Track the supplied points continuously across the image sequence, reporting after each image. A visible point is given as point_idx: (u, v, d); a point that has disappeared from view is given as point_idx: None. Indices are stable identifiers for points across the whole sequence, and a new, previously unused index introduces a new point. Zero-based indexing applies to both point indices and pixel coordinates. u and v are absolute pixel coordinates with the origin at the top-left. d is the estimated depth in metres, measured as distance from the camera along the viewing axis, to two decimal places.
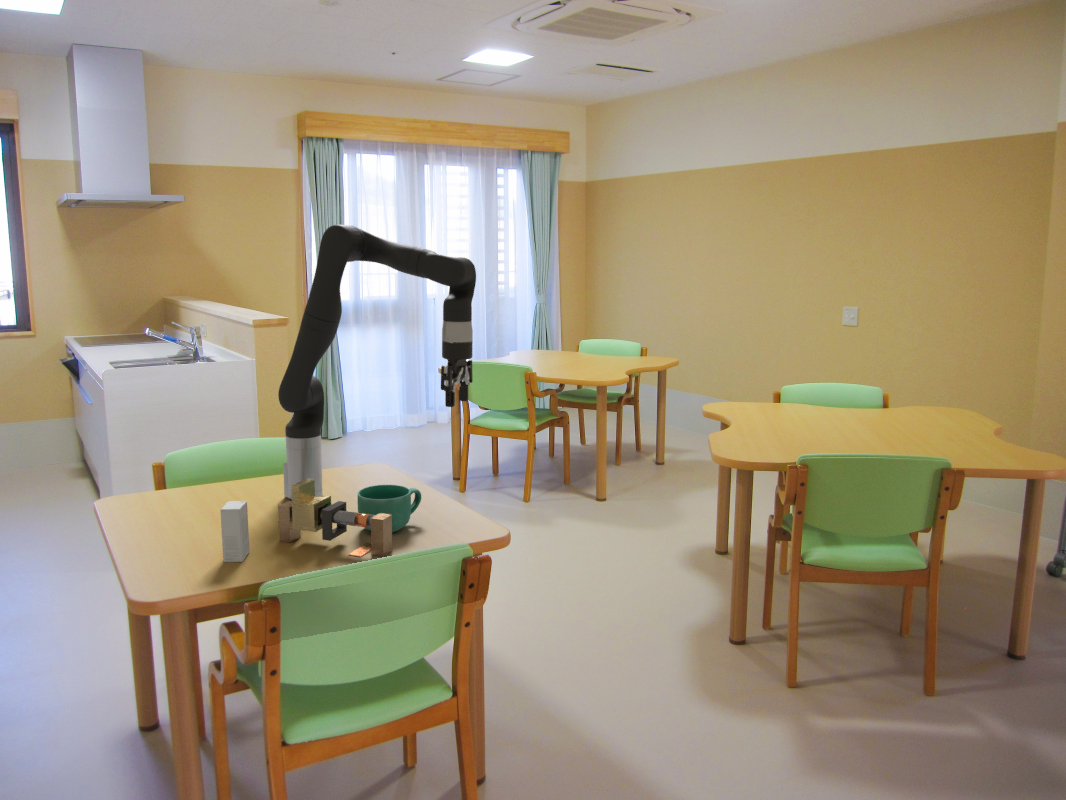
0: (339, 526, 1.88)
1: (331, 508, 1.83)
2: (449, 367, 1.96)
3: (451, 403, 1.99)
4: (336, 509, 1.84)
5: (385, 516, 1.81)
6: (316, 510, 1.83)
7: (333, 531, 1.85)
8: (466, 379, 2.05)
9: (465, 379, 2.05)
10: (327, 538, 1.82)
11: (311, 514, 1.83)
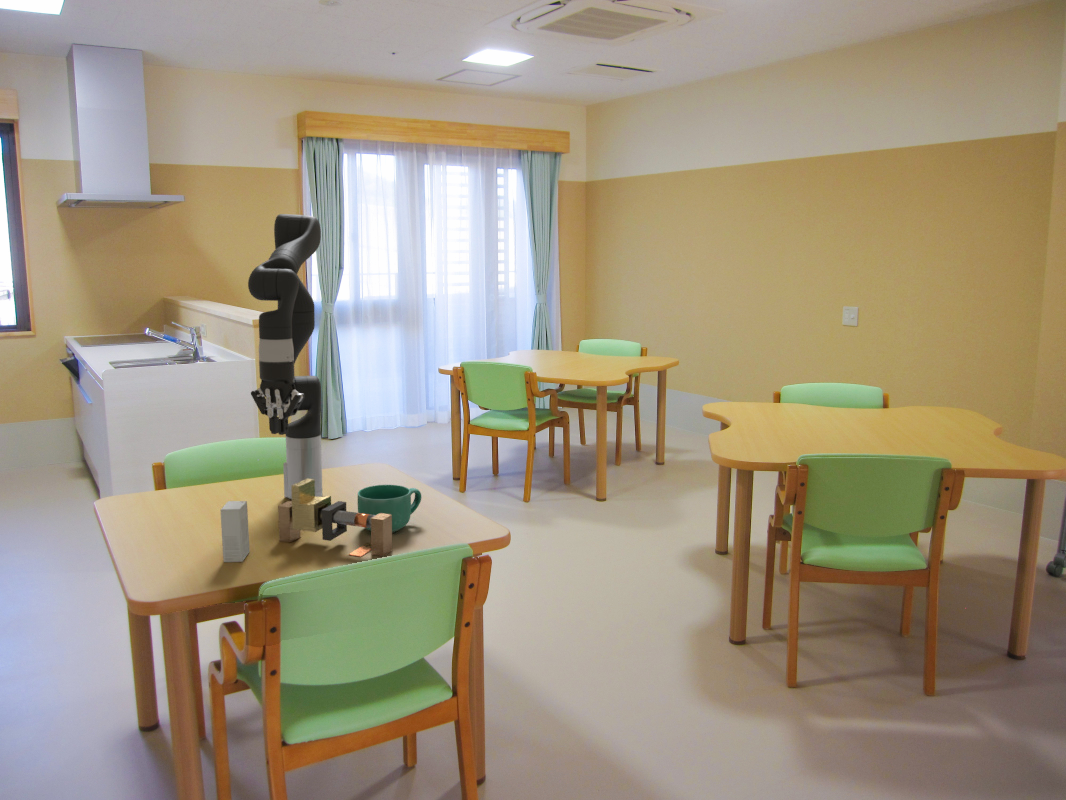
0: (339, 526, 1.88)
1: (331, 508, 1.83)
2: (304, 396, 1.83)
3: None
4: (336, 509, 1.84)
5: (385, 516, 1.81)
6: (316, 510, 1.83)
7: (333, 531, 1.85)
8: None
9: None
10: (327, 538, 1.82)
11: (311, 514, 1.83)
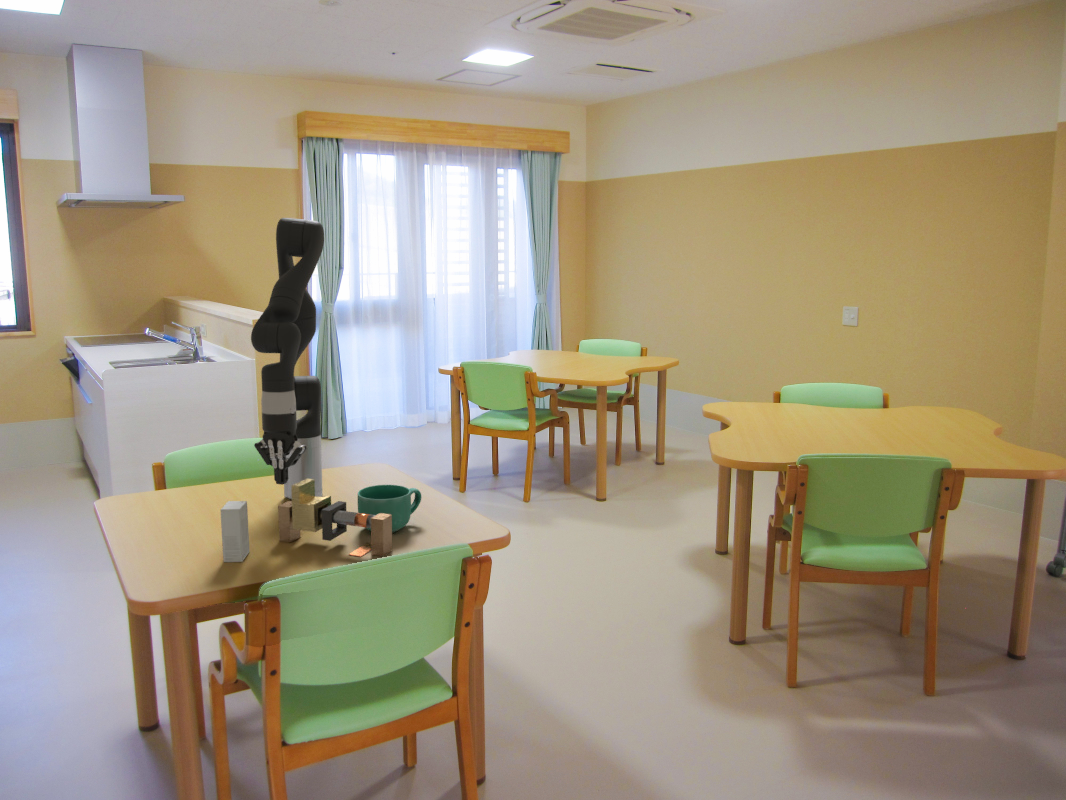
0: (339, 526, 1.88)
1: (331, 508, 1.83)
2: (305, 448, 1.86)
3: None
4: (336, 509, 1.84)
5: (385, 516, 1.81)
6: (316, 510, 1.83)
7: (333, 531, 1.85)
8: None
9: None
10: (327, 538, 1.82)
11: (311, 514, 1.83)
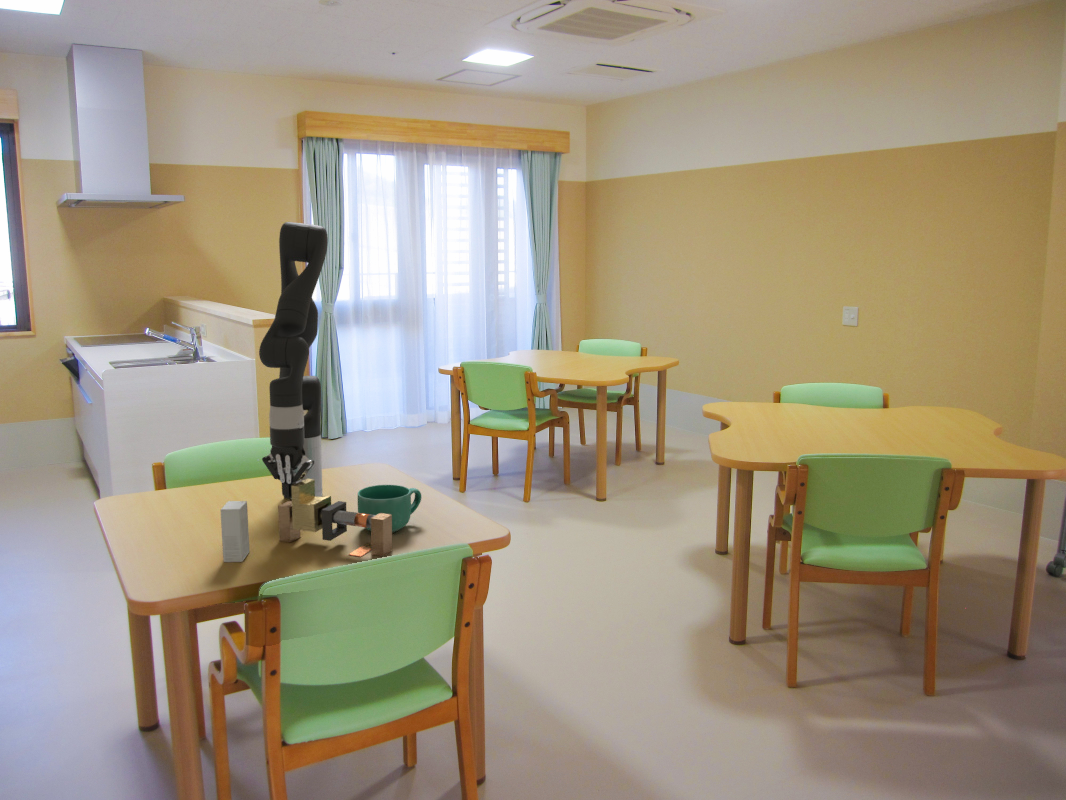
0: (339, 526, 1.88)
1: (331, 508, 1.83)
2: (313, 463, 1.85)
3: None
4: (336, 509, 1.84)
5: (385, 516, 1.81)
6: (316, 510, 1.83)
7: (333, 531, 1.85)
8: None
9: None
10: (327, 538, 1.82)
11: (311, 514, 1.83)
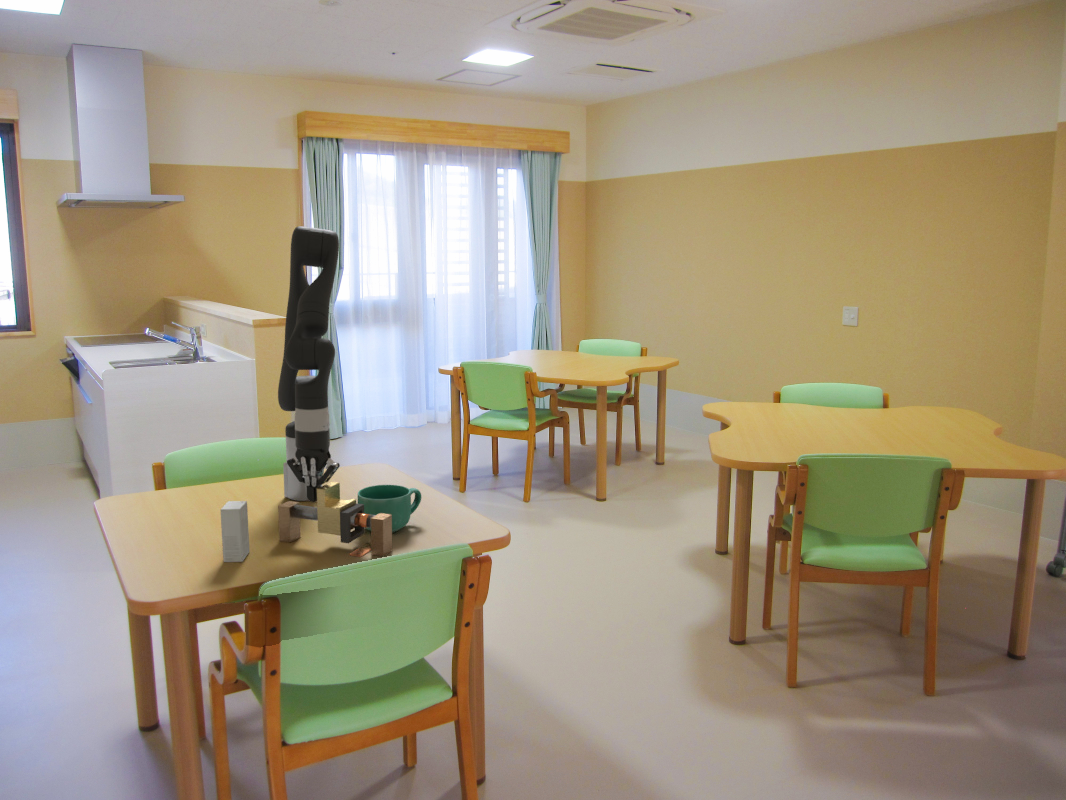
0: (357, 529, 1.86)
1: (349, 510, 1.81)
2: (338, 466, 1.83)
3: None
4: (354, 511, 1.82)
5: (385, 516, 1.81)
6: None
7: (351, 534, 1.84)
8: None
9: None
10: (345, 541, 1.81)
11: (337, 518, 1.81)
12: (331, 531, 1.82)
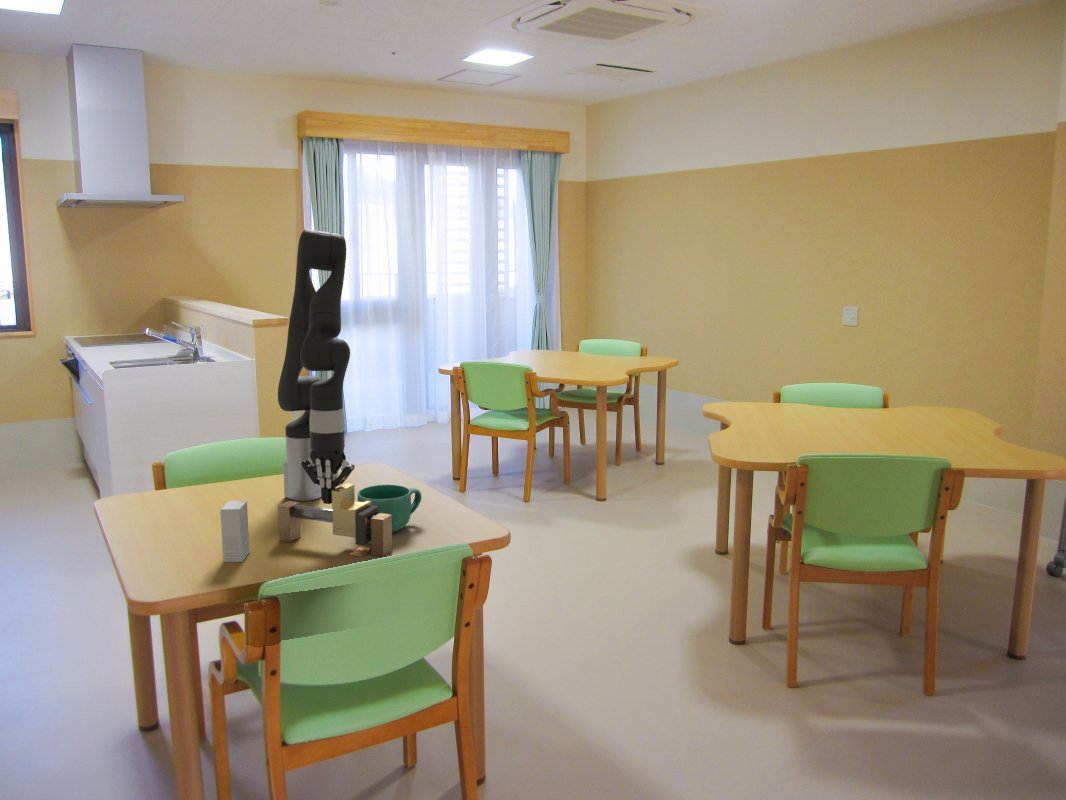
0: None
1: (364, 512, 1.80)
2: (353, 467, 1.82)
3: None
4: (369, 513, 1.81)
5: (385, 516, 1.81)
6: None
7: (366, 536, 1.83)
8: None
9: None
10: (361, 543, 1.80)
11: (352, 520, 1.79)
12: (346, 533, 1.81)
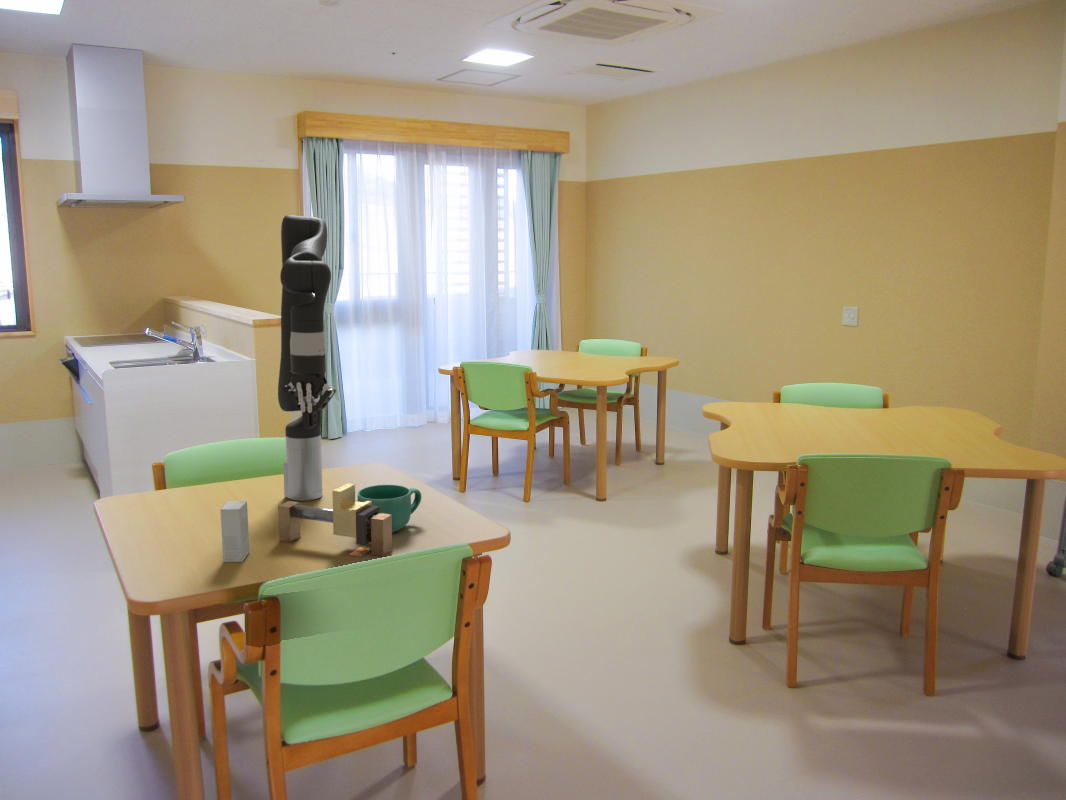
0: None
1: (365, 513, 1.80)
2: (334, 391, 1.81)
3: None
4: (370, 513, 1.81)
5: (385, 516, 1.81)
6: None
7: (367, 536, 1.83)
8: None
9: None
10: (361, 543, 1.80)
11: (353, 520, 1.79)
12: (347, 533, 1.81)
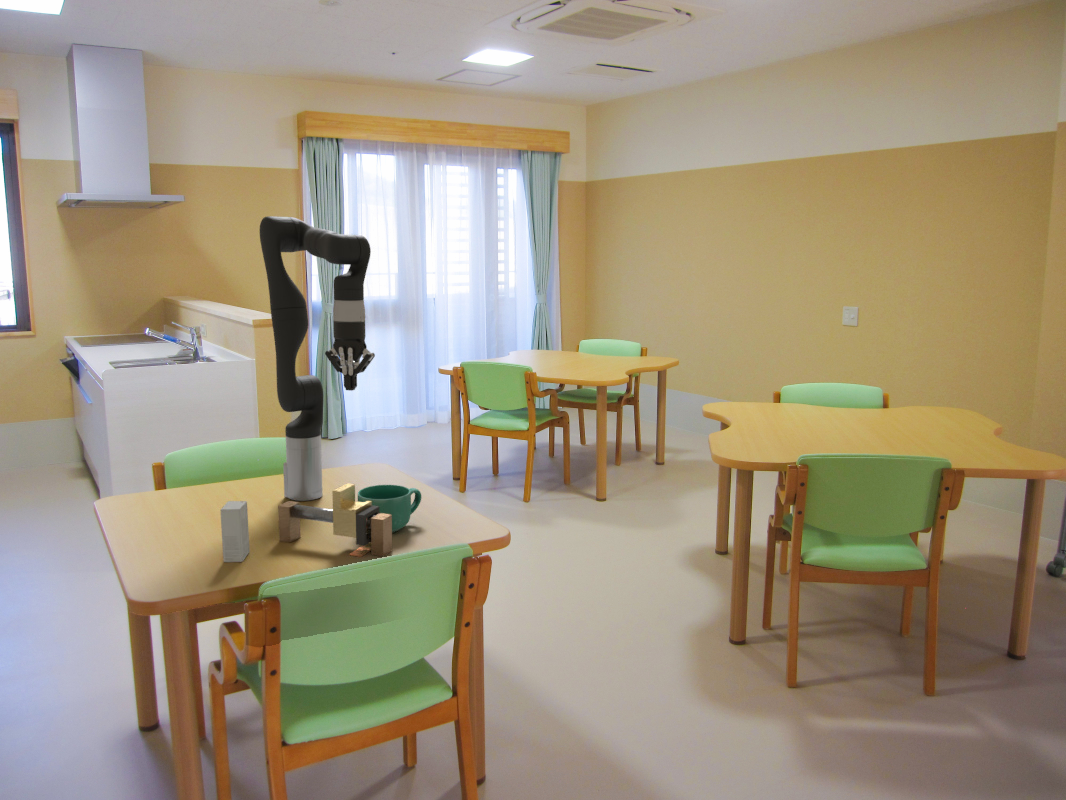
0: None
1: (365, 513, 1.80)
2: (374, 355, 1.96)
3: None
4: (370, 513, 1.81)
5: (385, 516, 1.81)
6: None
7: (367, 536, 1.83)
8: None
9: None
10: (361, 543, 1.80)
11: (353, 520, 1.79)
12: (347, 533, 1.81)
